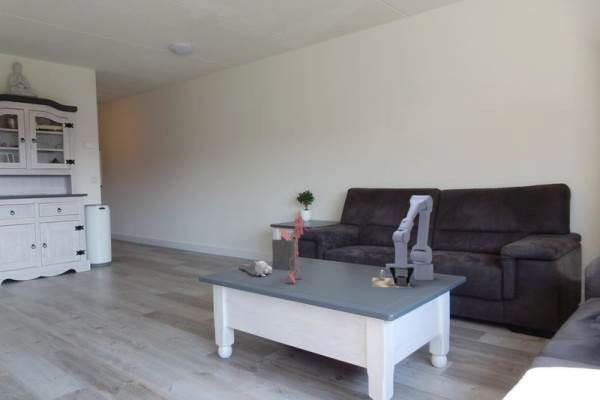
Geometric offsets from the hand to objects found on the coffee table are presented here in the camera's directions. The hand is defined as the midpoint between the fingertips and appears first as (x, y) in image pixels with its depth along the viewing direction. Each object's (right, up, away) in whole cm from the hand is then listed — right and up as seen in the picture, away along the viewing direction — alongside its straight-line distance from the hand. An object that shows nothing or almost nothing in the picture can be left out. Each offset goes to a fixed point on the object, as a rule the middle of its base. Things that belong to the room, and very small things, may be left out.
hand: (401, 283), depth 207 cm
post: (-7, -2, +11) cm, 14 cm away
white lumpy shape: (-70, -2, +34) cm, 77 cm away
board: (-4, -2, +6) cm, 7 cm away
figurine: (-49, -3, +16) cm, 52 cm away
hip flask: (-59, -2, +51) cm, 78 cm away
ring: (0, -1, 0) cm, 1 cm away
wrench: (-80, -2, +42) cm, 90 cm away
